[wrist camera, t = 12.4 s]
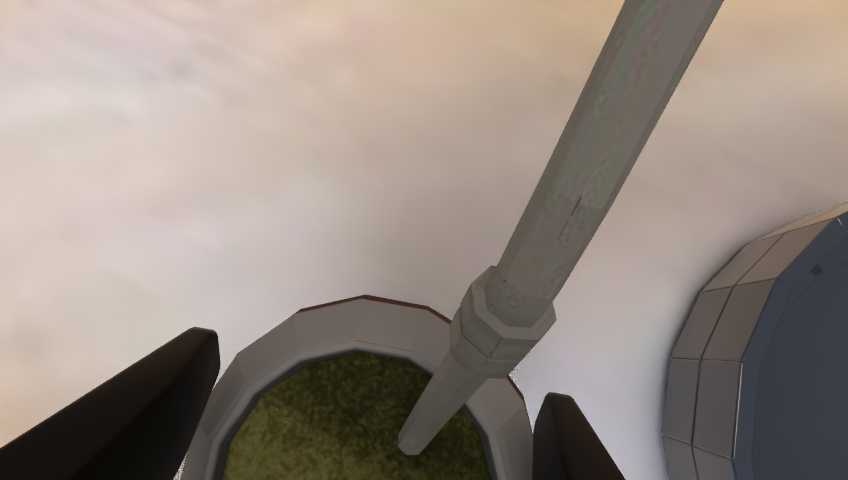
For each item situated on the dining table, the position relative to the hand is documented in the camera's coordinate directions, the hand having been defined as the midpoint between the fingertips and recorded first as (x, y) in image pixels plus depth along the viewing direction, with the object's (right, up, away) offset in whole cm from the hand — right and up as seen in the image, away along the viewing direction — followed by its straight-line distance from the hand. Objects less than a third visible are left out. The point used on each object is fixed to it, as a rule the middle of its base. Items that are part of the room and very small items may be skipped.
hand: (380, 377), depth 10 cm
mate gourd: (0, -3, +7) cm, 8 cm away
